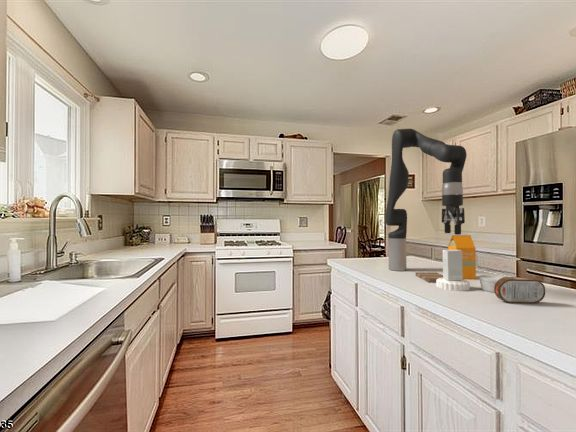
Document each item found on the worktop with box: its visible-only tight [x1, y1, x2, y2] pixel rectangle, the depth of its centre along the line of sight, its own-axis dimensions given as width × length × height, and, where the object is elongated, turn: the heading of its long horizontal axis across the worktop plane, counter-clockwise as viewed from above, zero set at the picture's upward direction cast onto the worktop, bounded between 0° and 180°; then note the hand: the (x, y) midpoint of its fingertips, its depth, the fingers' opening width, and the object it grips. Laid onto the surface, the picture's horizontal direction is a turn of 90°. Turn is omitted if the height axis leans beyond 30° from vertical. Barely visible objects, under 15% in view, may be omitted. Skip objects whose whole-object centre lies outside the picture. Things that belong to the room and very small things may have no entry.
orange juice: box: [447, 234, 477, 280], centre depth 143 cm, size 8×9×20 cm
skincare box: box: [442, 249, 463, 280], centre depth 123 cm, size 6×4×12 cm
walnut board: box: [415, 271, 443, 284], centre depth 140 cm, size 16×10×2 cm, turn 176°
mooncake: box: [435, 278, 471, 292], centre depth 123 cm, size 12×12×4 cm
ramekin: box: [478, 274, 506, 294], centre depth 117 cm, size 11×11×5 cm
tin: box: [494, 276, 546, 304], centre depth 101 cm, size 15×3×8 cm, turn 84°
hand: (452, 233), depth 123 cm, fingers open, 8 cm apart
